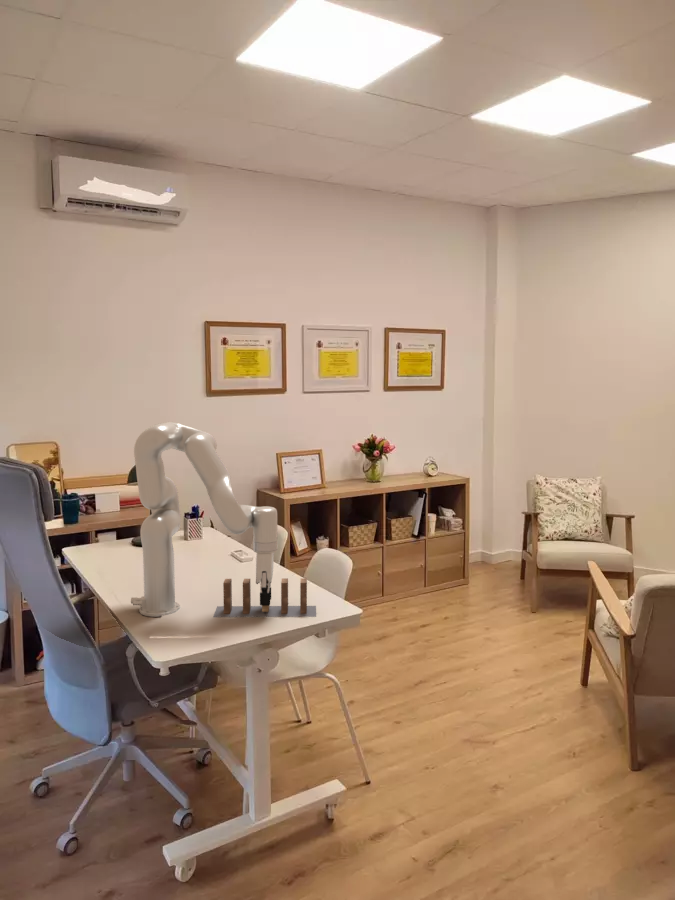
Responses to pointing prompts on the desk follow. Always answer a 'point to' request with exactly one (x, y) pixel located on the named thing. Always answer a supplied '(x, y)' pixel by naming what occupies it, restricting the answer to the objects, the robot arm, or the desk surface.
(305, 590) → the domino
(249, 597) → the domino
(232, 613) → the mat
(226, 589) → the domino
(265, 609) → the domino
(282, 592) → the domino
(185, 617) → the desk surface
